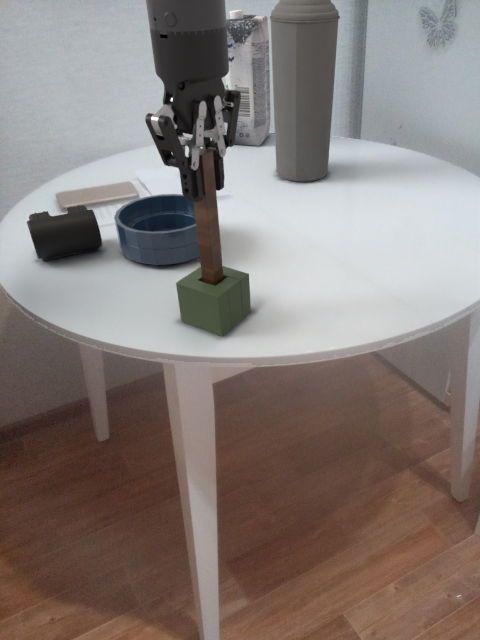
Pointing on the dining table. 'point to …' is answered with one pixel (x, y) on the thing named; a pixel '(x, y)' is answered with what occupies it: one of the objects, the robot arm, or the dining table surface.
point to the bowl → (158, 230)
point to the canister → (303, 85)
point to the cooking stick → (208, 222)
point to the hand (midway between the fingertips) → (204, 193)
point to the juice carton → (249, 75)
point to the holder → (214, 300)
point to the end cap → (64, 233)
